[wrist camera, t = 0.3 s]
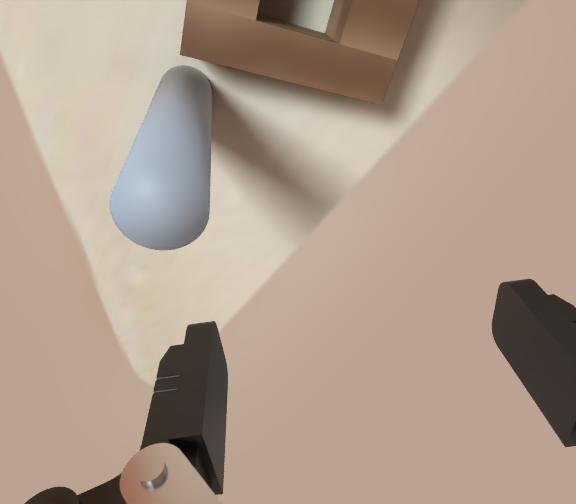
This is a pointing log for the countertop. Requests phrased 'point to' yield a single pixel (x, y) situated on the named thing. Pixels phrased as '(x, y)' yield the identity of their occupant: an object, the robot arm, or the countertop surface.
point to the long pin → (168, 166)
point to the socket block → (304, 43)
